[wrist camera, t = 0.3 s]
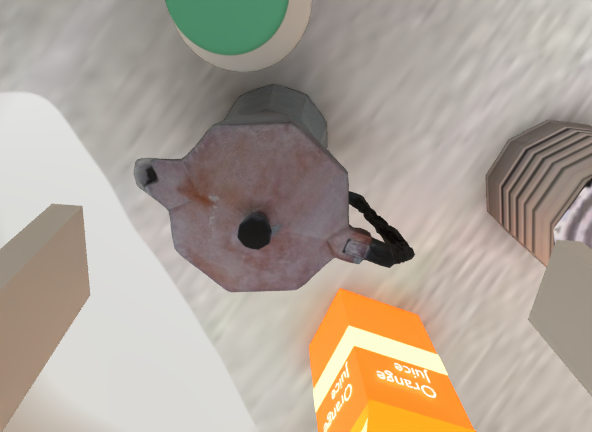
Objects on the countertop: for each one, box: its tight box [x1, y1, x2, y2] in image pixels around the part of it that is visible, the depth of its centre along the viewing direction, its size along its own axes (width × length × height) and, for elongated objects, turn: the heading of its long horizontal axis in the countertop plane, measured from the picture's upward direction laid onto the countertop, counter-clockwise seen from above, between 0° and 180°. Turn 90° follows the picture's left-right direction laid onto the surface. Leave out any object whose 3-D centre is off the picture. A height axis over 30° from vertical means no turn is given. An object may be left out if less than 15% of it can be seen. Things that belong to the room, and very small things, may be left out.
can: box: [486, 120, 592, 267], centre depth 36 cm, size 11×11×12 cm
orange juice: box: [309, 288, 476, 432], centre depth 38 cm, size 8×9×20 cm
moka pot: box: [134, 85, 415, 292], centre depth 30 cm, size 10×15×20 cm, turn 74°
